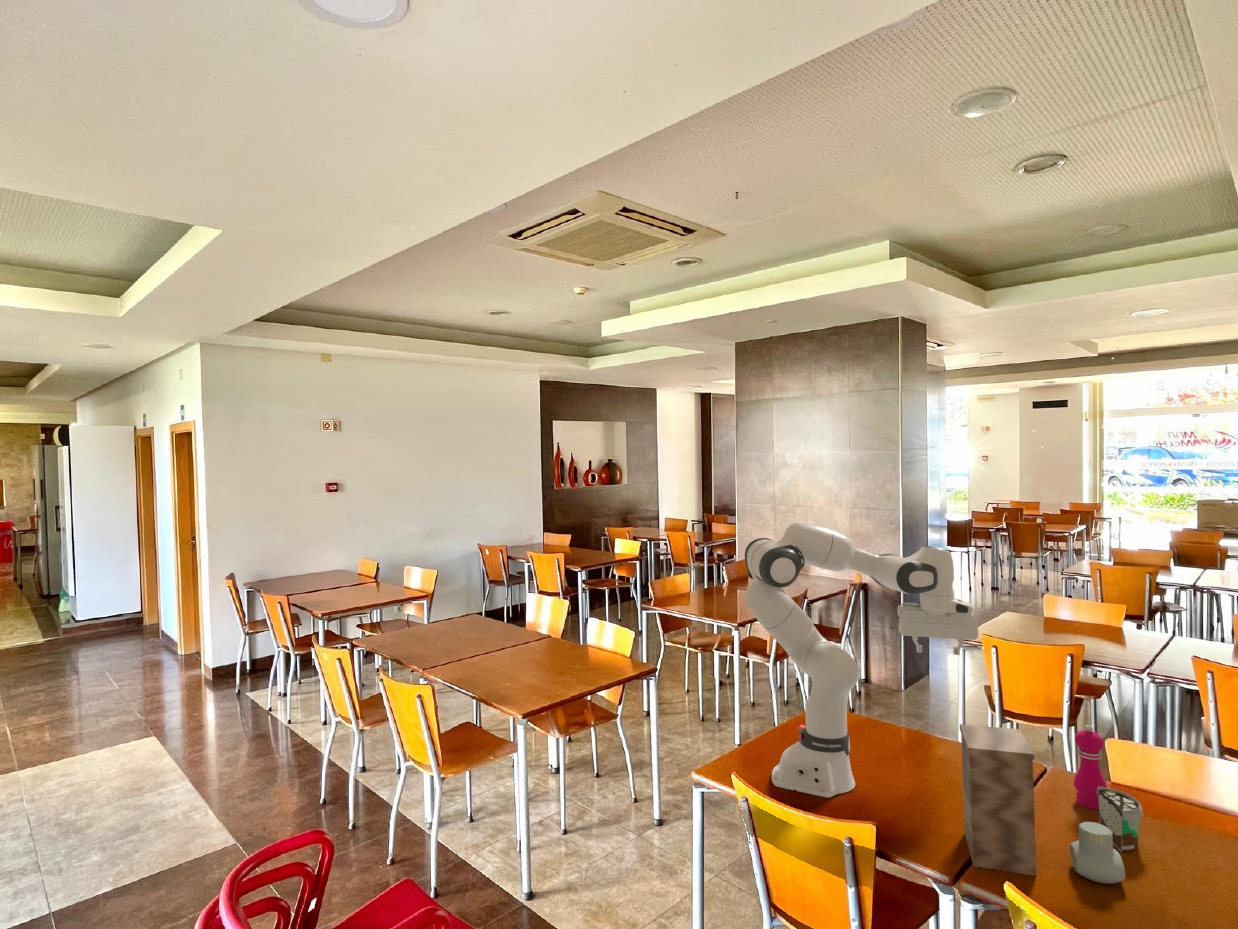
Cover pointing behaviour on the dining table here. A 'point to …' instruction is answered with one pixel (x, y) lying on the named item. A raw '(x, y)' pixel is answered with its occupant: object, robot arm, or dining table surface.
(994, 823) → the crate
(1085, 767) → the pepper mill
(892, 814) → the dining table surface
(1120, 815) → the food container
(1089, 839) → the air freshener
